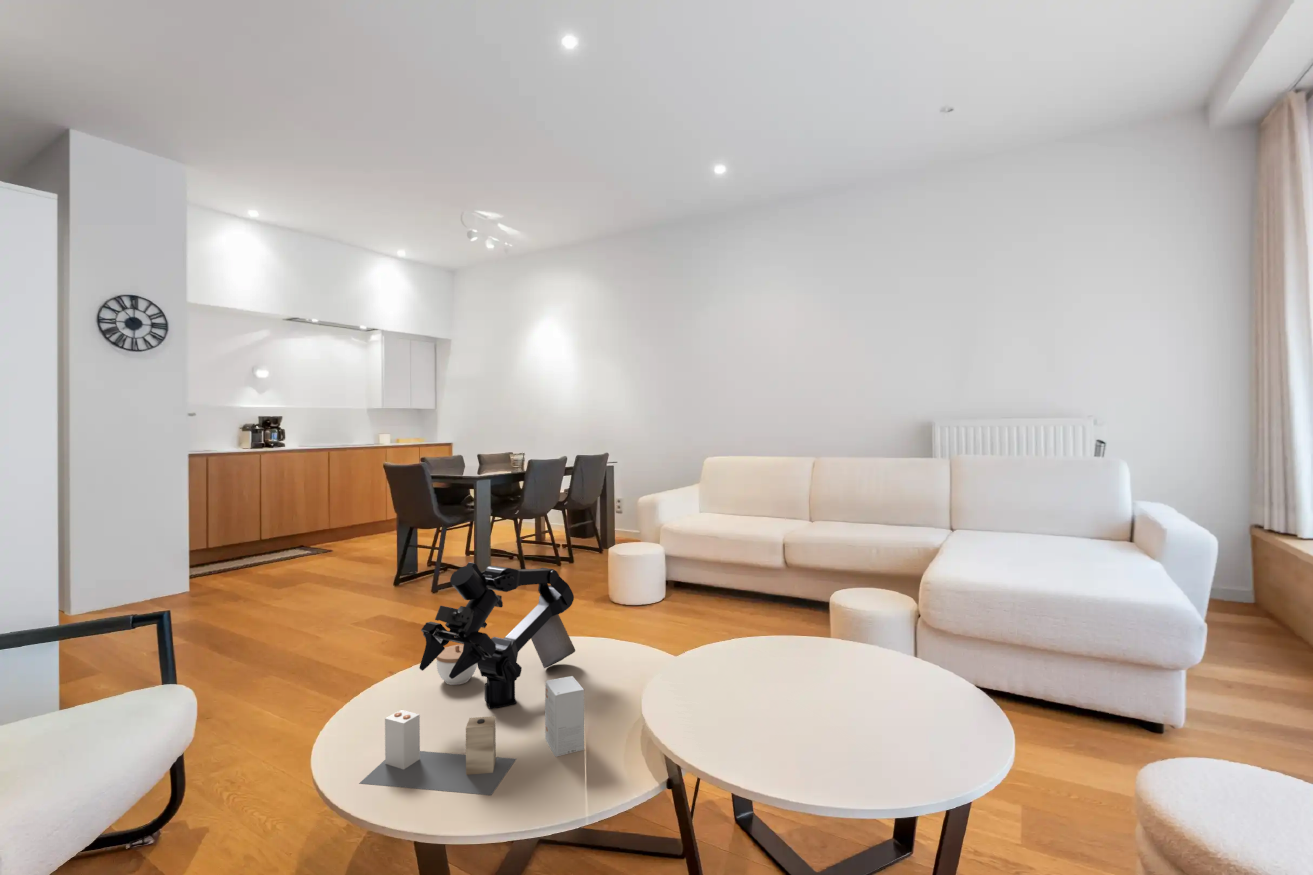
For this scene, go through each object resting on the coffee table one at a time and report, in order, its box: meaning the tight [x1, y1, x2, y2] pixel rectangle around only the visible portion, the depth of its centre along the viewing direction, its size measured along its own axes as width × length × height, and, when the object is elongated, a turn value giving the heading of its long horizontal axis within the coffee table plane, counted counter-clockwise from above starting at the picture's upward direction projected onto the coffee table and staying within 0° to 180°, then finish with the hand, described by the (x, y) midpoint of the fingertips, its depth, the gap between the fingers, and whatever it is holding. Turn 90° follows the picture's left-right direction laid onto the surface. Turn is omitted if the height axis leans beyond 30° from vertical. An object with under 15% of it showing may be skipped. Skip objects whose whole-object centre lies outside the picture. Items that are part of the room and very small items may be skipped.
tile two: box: [384, 709, 421, 769], centre depth 117 cm, size 4×5×9 cm
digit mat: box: [358, 750, 517, 796], centre depth 114 cm, size 26×12×1 cm, turn 82°
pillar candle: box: [530, 614, 576, 669], centre depth 166 cm, size 10×10×15 cm
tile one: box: [465, 715, 497, 775], centre depth 114 cm, size 4×5×9 cm
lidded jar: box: [436, 644, 478, 686], centre depth 157 cm, size 11×11×9 cm
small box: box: [544, 675, 585, 757], centre depth 123 cm, size 8×6×13 cm
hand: (435, 673), depth 127 cm, fingers open, 9 cm apart
